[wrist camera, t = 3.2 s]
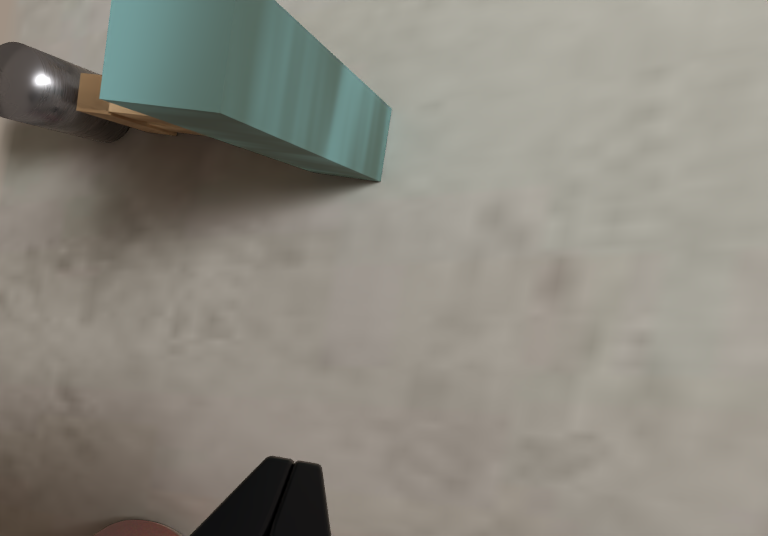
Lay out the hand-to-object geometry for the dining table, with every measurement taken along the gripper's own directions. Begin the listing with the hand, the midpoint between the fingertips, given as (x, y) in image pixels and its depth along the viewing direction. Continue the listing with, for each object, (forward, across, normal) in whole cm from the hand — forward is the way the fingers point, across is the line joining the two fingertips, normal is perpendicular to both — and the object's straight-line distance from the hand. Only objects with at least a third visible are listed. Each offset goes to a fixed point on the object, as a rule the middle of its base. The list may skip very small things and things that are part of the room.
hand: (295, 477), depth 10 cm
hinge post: (+16, +11, +1) cm, 20 cm away
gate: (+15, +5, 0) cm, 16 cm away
